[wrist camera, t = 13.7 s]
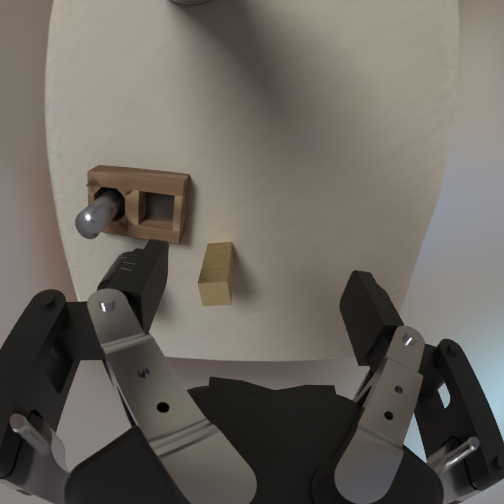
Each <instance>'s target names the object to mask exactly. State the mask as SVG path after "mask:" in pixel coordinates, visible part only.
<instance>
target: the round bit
mask: <svg viewBox="0 0 504 504" xmlns="http://www.w3.org/2000/svg"><path fill="white" fill-rule="evenodd" d="M124 207H125V197H124V196H123V195H122V194H121V193H120V192H119V190H118V189H117V188H110V189H109V190H107V191H106V192H105V193H104V194H102V195H101V196H100V197H99V198H97V199H96V200H95V201H94V202H92V203H91V204H90V205H89V206H88V207H86V208H85V209H84V210H83V211H82V212H80V213H79V214H78V215H77V217H76V220H75V225H76V228H77V230H78V232H79V233H80V234H81V235H82V236H83V237H85V238H87V239H93V238H96V237H97V236H98V235H99V234H100V232H101V231H102V230H103V229H104V228H105V227H106V226H107V225H108V224H109V223H110V222H111V221H112V220H113V219H114V217H115V216H116V215H117V214H118V213H119V212H120V211H121V210H122V209H123V208H124Z"/></svg>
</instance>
